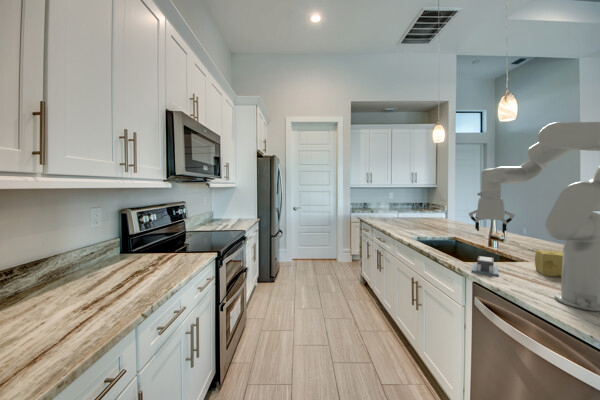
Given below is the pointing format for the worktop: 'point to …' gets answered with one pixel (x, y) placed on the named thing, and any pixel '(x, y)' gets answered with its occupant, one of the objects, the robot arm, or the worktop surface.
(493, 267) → the grey piece
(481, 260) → the block
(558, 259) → the cheese
